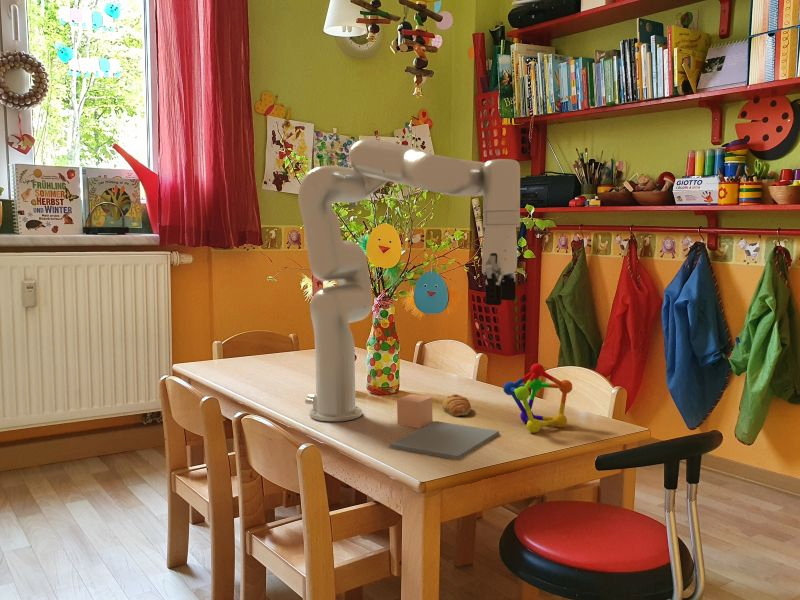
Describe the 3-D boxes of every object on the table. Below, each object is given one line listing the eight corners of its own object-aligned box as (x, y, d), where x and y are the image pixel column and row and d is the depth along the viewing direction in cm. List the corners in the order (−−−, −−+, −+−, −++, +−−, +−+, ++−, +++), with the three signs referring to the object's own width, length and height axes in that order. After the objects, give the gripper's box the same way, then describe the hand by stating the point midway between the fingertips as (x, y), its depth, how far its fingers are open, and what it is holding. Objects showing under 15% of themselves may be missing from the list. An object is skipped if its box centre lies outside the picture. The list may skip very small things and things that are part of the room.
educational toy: (529, 419, 178) (534, 357, 177) (574, 430, 168) (579, 365, 167) (486, 425, 167) (491, 360, 167) (531, 437, 158) (536, 368, 157)
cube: (397, 424, 171) (397, 399, 170) (410, 418, 176) (410, 394, 175) (419, 428, 168) (419, 402, 167) (432, 421, 173) (432, 396, 172)
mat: (389, 447, 153) (389, 443, 153) (435, 424, 170) (435, 421, 170) (457, 460, 145) (457, 456, 145) (499, 434, 162) (499, 430, 162)
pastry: (475, 417, 177) (475, 402, 177) (448, 419, 176) (448, 403, 176) (466, 407, 186) (466, 392, 186) (440, 409, 185) (440, 394, 185)
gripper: (497, 220, 161) (496, 297, 163) (469, 220, 145) (469, 306, 147) (530, 219, 158) (529, 298, 159) (506, 220, 142) (505, 307, 144)
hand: (501, 302), depth 153 cm, fingers open, 9 cm apart
